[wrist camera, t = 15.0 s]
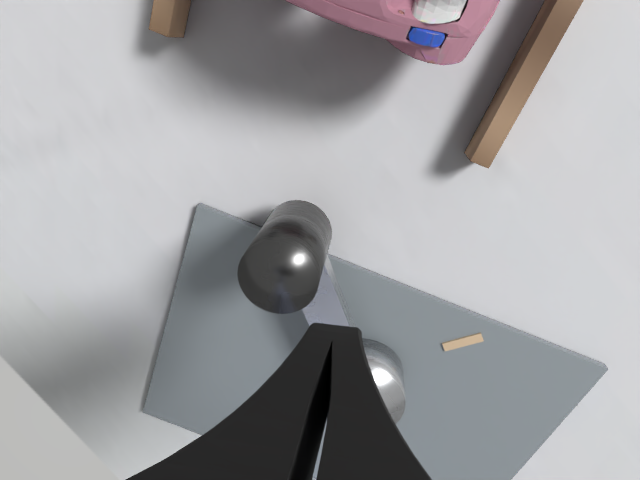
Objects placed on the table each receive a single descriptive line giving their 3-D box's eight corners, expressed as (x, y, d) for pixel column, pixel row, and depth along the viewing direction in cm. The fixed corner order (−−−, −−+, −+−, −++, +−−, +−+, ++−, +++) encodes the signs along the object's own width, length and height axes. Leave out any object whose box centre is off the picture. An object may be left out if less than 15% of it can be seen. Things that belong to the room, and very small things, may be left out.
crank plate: (462, 528, 29) (463, 537, 28) (145, 407, 28) (140, 414, 28) (604, 364, 22) (610, 371, 22) (200, 202, 22) (195, 207, 21)
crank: (413, 395, 24) (420, 483, 19) (337, 409, 25) (326, 495, 20) (335, 180, 20) (319, 225, 15) (247, 209, 21) (207, 258, 16)
